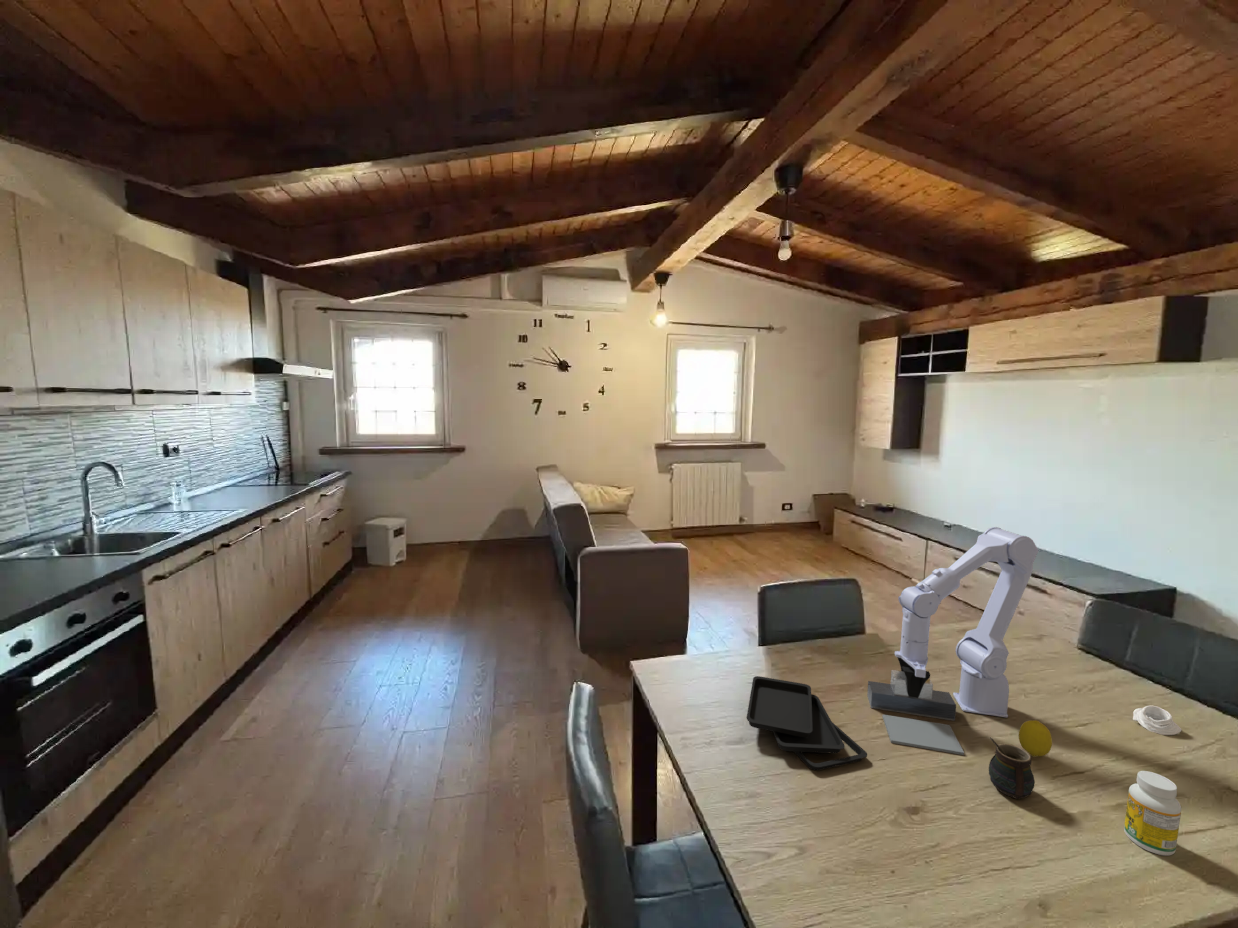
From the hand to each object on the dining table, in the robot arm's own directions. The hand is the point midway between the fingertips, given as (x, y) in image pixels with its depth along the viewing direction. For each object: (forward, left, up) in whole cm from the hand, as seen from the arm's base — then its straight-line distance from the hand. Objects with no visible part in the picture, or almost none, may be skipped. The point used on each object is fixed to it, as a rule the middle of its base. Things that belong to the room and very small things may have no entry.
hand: (910, 690), depth 129 cm
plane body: (0, 0, -4) cm, 4 cm away
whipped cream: (-53, -8, -5) cm, 54 cm away
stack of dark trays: (+28, +18, -5) cm, 33 cm away
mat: (0, +11, -4) cm, 12 cm away
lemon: (-21, +12, -5) cm, 25 cm away
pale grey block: (0, 0, 0) cm, 0 cm away
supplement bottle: (-30, +32, -5) cm, 44 cm away
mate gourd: (-12, +25, -5) cm, 28 cm away
